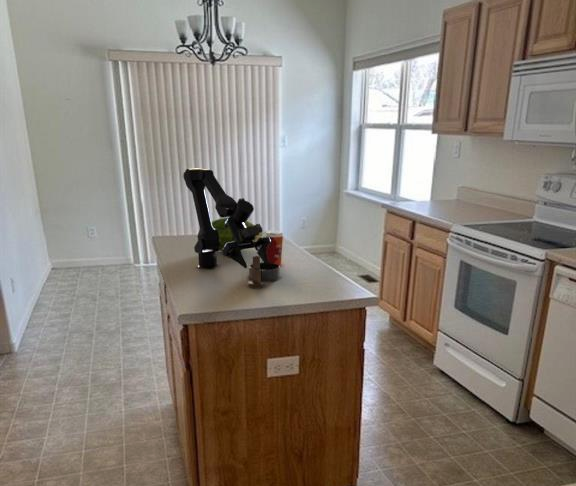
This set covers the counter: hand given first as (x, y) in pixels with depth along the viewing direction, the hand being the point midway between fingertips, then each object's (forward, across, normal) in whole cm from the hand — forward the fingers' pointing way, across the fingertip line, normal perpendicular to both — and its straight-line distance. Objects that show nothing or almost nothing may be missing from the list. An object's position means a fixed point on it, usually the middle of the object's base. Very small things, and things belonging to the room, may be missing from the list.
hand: (256, 265), depth 192 cm
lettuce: (-31, +26, +42) cm, 58 cm away
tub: (0, +9, +11) cm, 15 cm away
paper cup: (-9, +24, +20) cm, 32 cm away
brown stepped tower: (+5, 0, +6) cm, 8 cm away
